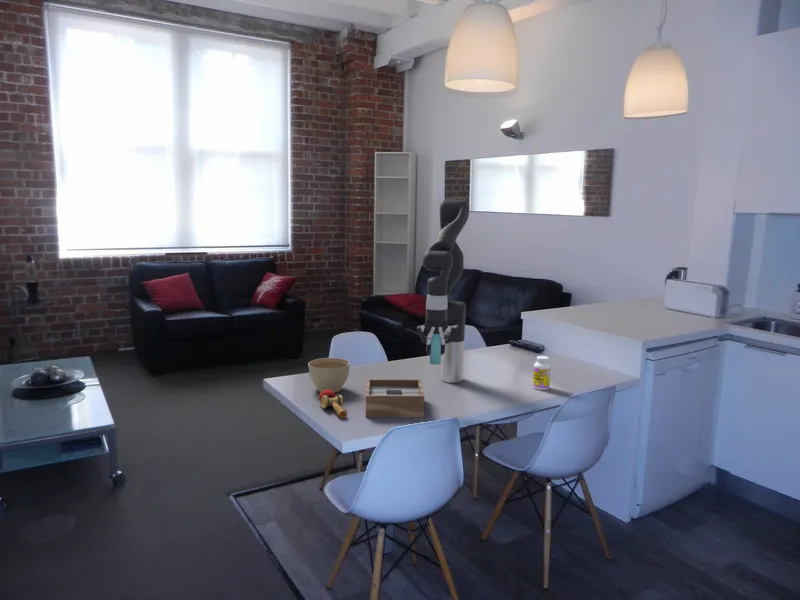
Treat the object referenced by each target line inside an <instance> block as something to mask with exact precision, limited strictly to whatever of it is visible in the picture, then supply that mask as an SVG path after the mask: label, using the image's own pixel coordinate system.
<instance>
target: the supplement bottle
mask: <svg viewBox="0 0 800 600" xmlns="http://www.w3.org/2000/svg"><path fill="white" fill-rule="evenodd" d="M549 361H550V357H548V356H546V355H538V356H536V362H535V363H534V364H533V375H532V388H533V389H535V390H539V391H547V390H549V389H550V379H551V368H552V367H551V366H552V365H551V364H550V362H549Z"/></svg>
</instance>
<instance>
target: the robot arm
mask: <svg viewBox="0 0 800 600" xmlns="http://www.w3.org/2000/svg"><path fill="white" fill-rule="evenodd" d="M439 204H440V206H439V226H440V228H439V229H440V230H439V232H438V234H437V235H436V237H435V240H434V242H433V244H432V245H431V246H430V247H429V248H427V250H426V251H425V253H424V255H423V258H422V266H423V267H424V269H425V270H426V271H429V272H440V275H439V276H435V277H430V278H428V280H427V285H426V287H427V288H426V292H427V293H426V301H425V322H424V323H423V325H418V326H417V327H416V329H417V331H418V335H419V339H420V341H421V343H422V344H425V352H426V354H427V355H428V356H430V347H431V345H430V342H431V339H432V336H433V334H440V337H441V364H440V366H441V367H440V380H441V381H442V382H446V383H452V384H453V383H454V384H455V383H461V382H463V381H464V360H465V359H464V357H465V335H466V334H465V329H466V319H467V305H466V303H465V302H464V301H453V300H452V301H450V300H449V296H450V294H451V291H452V290H453V288H454V287H455V285H456V283H458V281H459V280H460V278H461V277H462V275H463V273H464V262H465V261H464V253H463V251H462V249H461V247H460V246H459V244H458V242H457V238H458V236H459V235H460V233H461V232H462V231H463V228H465V225H466V224H467V221H468V220H469V216H470V204H469V202H468V201H467V200H465V199H454V198H453V199H451V198H449V199H448V198H446V199H442V200H441V202H440V203H439ZM449 324H450V325H451V326H450V325H449ZM453 325H456V327H454V326H453ZM425 330H426V331H427V333H428V334H427V337H426V338H425V336H424V334H423V332H424V331H425ZM430 335H431V336H430Z"/></svg>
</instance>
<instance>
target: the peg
mask: <svg viewBox="0 0 800 600" xmlns="http://www.w3.org/2000/svg"><path fill="white" fill-rule="evenodd" d="M430 336H431V335H430ZM430 345H431V347H430V355H429V364H430V365H436V366H437V365H441V360H442V355H441V337H440V334H433V336H432V339H431V342H430Z"/></svg>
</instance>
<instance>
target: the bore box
mask: <svg viewBox="0 0 800 600" xmlns="http://www.w3.org/2000/svg"><path fill="white" fill-rule="evenodd" d="M424 417H425V393H424V389H423V385H422V380H421V379H414V378H413V379H412V378H411V379H406V378H405V379H403V378H401V379H400V378H397V379H396V378H395V379H394V378H393V379H392V378H391V379H390V378H366V391H365V418H424Z"/></svg>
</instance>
